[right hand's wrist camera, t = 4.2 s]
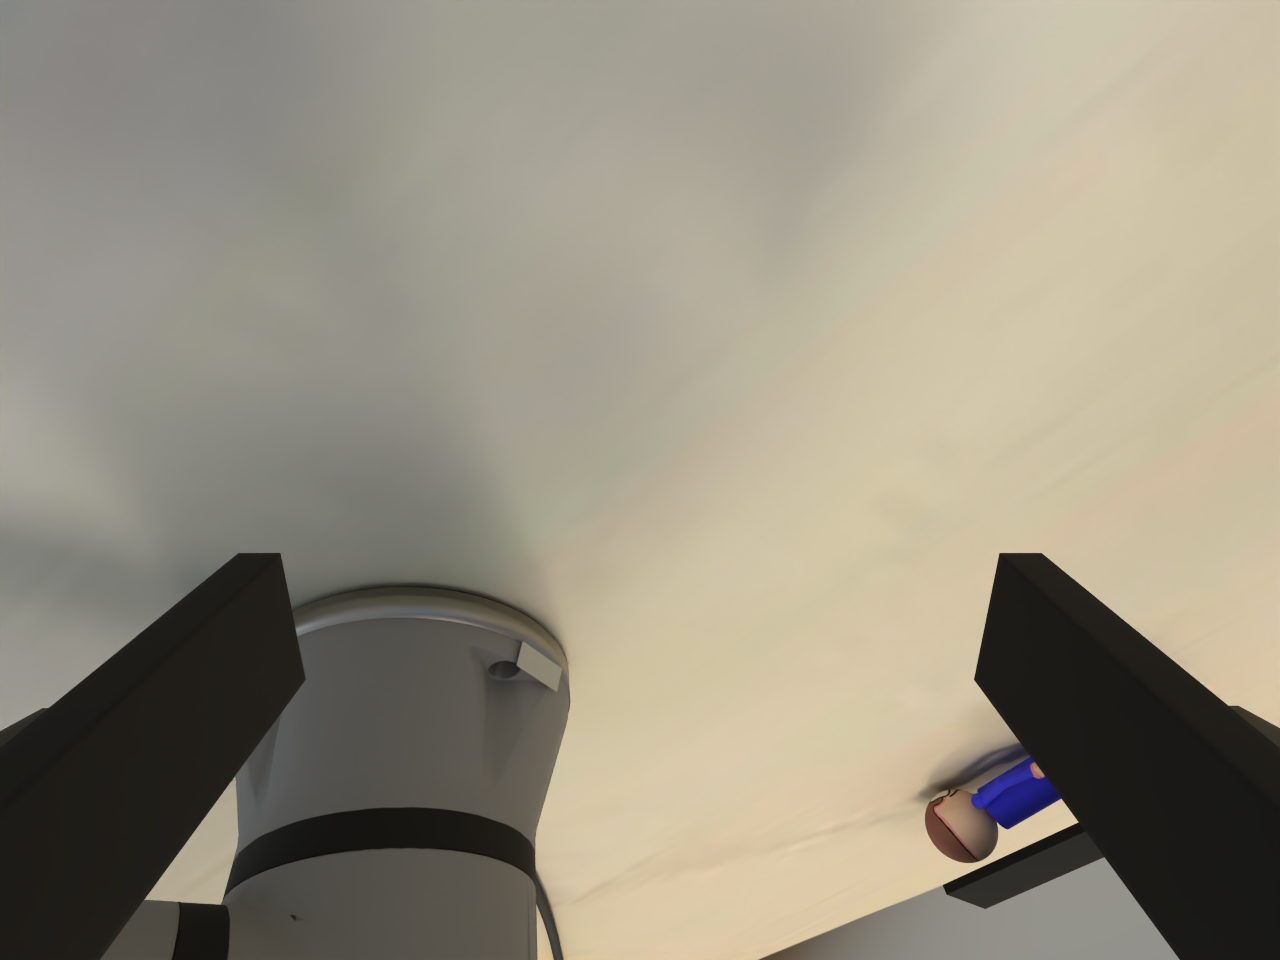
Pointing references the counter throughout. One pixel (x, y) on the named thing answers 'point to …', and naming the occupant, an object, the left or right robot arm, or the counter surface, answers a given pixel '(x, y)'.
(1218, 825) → the right robot arm
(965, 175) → the counter surface
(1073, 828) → the figurine character
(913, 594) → the counter surface
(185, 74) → the counter surface
